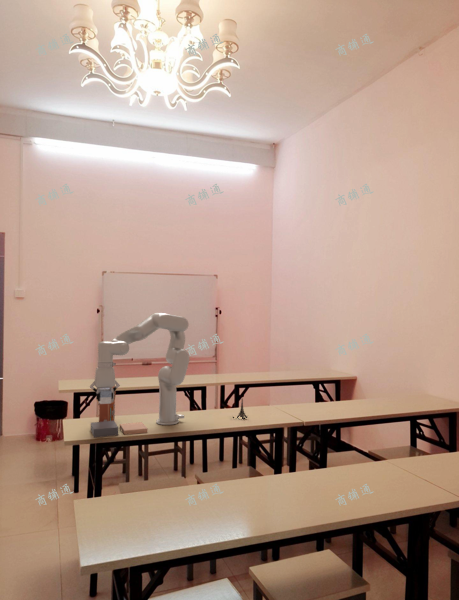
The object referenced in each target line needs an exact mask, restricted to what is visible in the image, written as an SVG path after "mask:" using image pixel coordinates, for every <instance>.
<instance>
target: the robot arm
mask: <svg viewBox="0 0 459 600" xmlns="http://www.w3.org/2000/svg"><path fill="white" fill-rule="evenodd" d="M189 325H190V324H189V321H188V319H187V318H186V317H184V316H180V315H175V314H169V313H164V312H155V313H153V314H151V315H149V316H148V317H146V318H145V319H144V320H142V321H141V322H140V323H138V324H137V325H136V326H133V327H131V328H129V329H127V330H125V331H124V332H121V333H120V334H119V335H117V336H116V337H114V338H113V339H112V340H110V341H107V340H106V341H105V340H104V341H100V342H98V345H97V367H96V368H95V371H94V372H95V374H94V381H93V382H92V383H91V384H90V386H89V388H90V389H91V390H93V391H94V392H95V394H96V396H95V398H96V400H97V402H99V401H100V394H99V391H100V388H108V387H110V389H111V391H112V397H111V401H112V399H113V392H114V391H116V390H117V389H118V388H119V387H120V386H121V385H120V383H118V381H117V380H116V372H115V367H114V366H116V362H114V356H125V355H126V354H128V353H129V352H130V344H133V343H135V342H136V343H137V342H139V341H142V340H145V339H147V338H148V337H149V336H151V335H152V334H153V333H155V332H157V330H159V329H163V330H166V331H167V330H168V332H169V335H170V339H169V344H168V348H167V351H166V353H165V360H166V362H167V364H170V365H171V366H170V365H165V366H162V367H161V368H160V369H159V371H158V374H157V379H158V387H159V391H158V392H159V393H158V394H159V397H158V399H159V402H158V403H159V404H158V409H159V410H158V418H157V419H156V424H158V425H161V426H172V425H176V424H177V425H178V423H179V419H185V415H184V414H178V413H177V386H180V385H181V384H182V383H183V382H184V380H185V377H186V374H187V371H188V368H189V364H190V354H189V352H188V351H187V350H185V348H184V347H185V344H186V334H185V331H187V330H188V328H189V327H190V326H189ZM94 386H95V387H96V388H95V387H94ZM114 386H115V387H114ZM113 387H114V388H113Z"/></svg>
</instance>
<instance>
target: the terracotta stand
mask: <svg viewBox="0 0 459 600" xmlns="http://www.w3.org/2000/svg"><path fill="white" fill-rule="evenodd" d="M119 429H120V430H121V432H122V434H123V435H125V436H126V435H133V434H144V433H148V430H149V429H148V428H147V426H146V425H145V424H144V423H143V421H141V422H140V421H139V422H138V421H137V422H130V423H129V422H127V423H119Z"/></svg>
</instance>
